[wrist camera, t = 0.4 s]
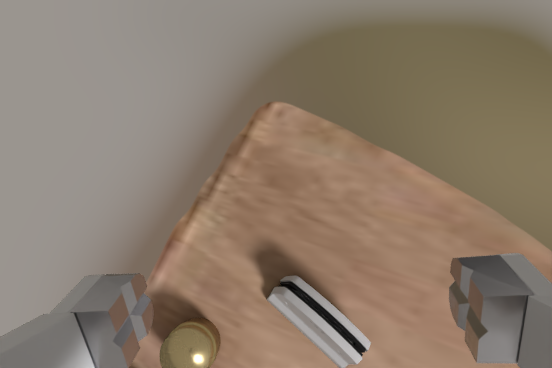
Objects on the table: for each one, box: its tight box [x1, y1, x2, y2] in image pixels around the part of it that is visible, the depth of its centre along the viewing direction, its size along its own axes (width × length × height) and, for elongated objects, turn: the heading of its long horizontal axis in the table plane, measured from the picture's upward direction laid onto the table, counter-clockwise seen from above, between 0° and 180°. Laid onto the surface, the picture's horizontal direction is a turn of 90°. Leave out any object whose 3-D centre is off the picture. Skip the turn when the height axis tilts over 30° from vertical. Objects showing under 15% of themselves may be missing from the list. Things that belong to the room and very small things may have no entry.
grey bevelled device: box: [267, 275, 371, 368], centre depth 56 cm, size 17×5×10 cm, turn 49°
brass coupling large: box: [160, 318, 220, 368], centre depth 58 cm, size 8×8×7 cm
